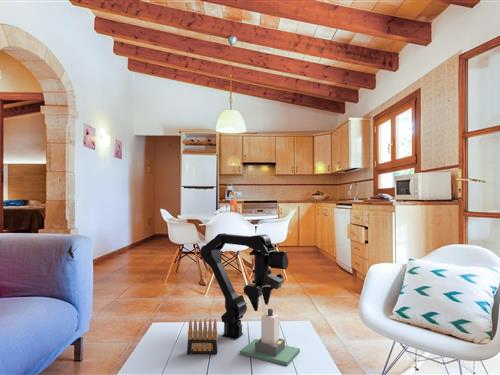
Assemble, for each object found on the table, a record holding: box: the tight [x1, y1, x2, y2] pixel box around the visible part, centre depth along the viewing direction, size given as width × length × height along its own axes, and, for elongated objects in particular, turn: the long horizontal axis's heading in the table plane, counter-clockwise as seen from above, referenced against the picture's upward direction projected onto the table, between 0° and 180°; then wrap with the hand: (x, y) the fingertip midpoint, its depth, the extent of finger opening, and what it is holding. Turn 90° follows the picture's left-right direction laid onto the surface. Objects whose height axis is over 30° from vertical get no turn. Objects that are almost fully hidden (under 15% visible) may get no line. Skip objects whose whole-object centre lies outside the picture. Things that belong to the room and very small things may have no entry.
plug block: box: [260, 308, 280, 346], centre depth 118 cm, size 5×4×14 cm
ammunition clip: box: [186, 318, 218, 356], centre depth 117 cm, size 11×2×12 cm, turn 90°
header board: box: [239, 337, 301, 367], centre depth 118 cm, size 18×12×4 cm, turn 62°
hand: (261, 307), depth 128 cm, fingers open, 9 cm apart
